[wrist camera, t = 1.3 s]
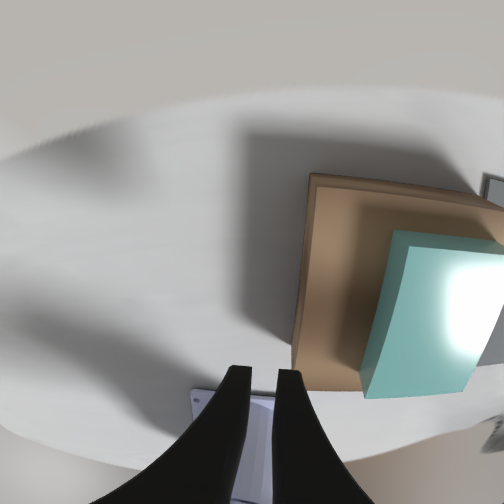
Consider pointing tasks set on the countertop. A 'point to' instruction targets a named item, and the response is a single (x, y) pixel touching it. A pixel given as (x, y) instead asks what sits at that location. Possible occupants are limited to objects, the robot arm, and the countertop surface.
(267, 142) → the countertop surface
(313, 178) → the block
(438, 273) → the tile
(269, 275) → the countertop surface
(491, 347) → the mat
